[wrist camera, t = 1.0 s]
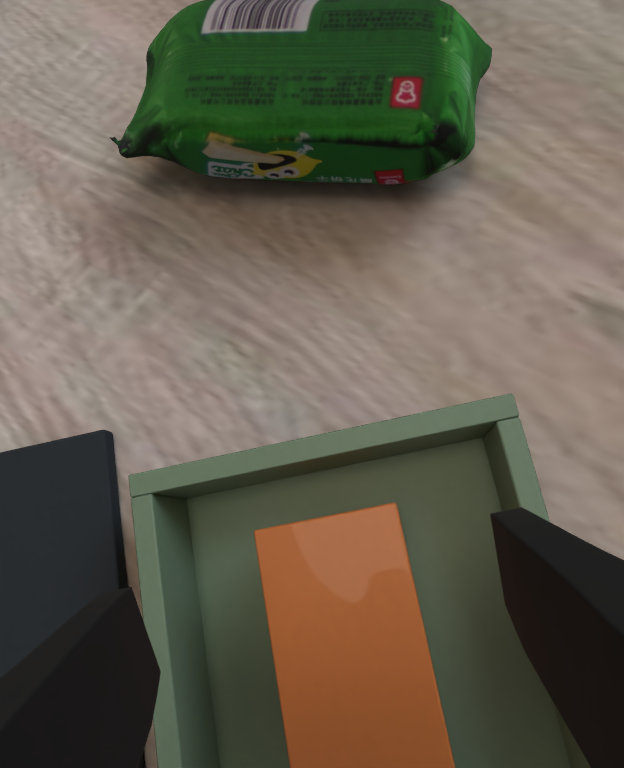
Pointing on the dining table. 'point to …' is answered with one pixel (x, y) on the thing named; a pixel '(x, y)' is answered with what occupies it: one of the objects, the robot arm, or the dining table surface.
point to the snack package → (311, 90)
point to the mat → (56, 537)
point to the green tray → (322, 498)
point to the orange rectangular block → (350, 644)
